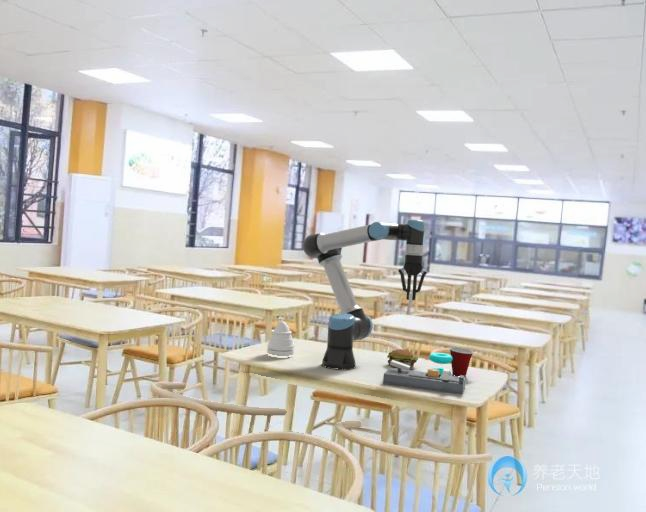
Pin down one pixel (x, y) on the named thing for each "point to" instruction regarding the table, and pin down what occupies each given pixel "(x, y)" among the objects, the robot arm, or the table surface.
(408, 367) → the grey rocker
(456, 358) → the plastic cup
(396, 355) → the food
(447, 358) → the donuts
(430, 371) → the orange button
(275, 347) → the honey pot
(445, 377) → the slider knob
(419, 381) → the console panel
